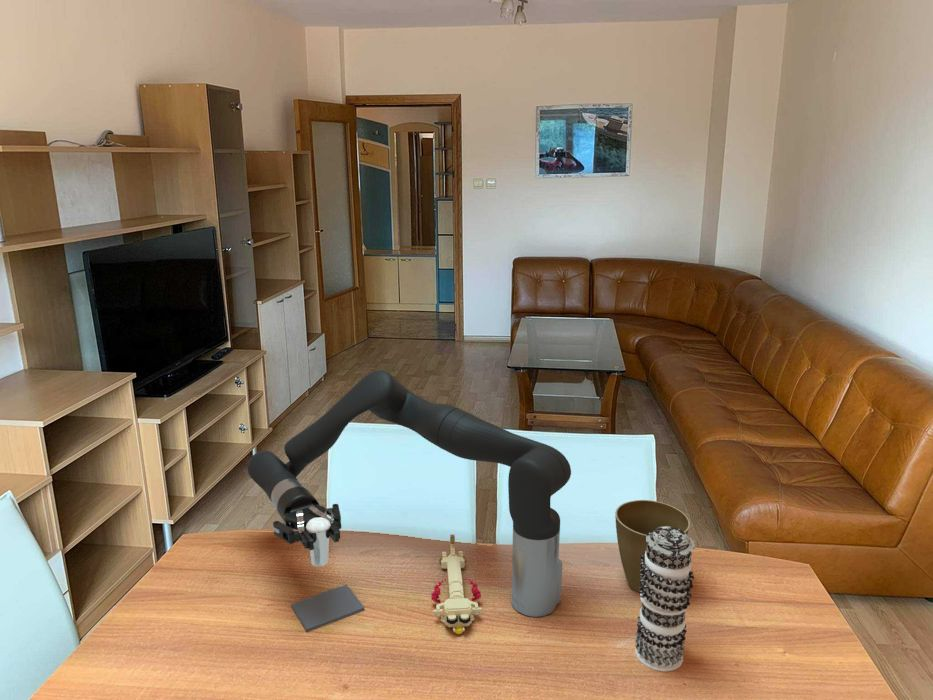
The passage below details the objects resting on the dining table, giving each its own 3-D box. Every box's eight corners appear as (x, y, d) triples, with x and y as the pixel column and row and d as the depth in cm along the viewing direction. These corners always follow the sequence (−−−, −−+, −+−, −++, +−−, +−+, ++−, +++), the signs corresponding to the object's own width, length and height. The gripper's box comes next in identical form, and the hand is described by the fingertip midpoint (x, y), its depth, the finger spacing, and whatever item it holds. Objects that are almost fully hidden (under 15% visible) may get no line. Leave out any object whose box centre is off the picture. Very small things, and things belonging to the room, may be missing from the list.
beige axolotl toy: (430, 568, 152) (432, 637, 127) (429, 532, 150) (431, 594, 126) (474, 566, 152) (485, 634, 128) (474, 530, 151) (485, 592, 126)
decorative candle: (628, 636, 128) (637, 519, 121) (677, 637, 128) (689, 520, 121) (638, 672, 120) (649, 548, 113) (691, 673, 119) (705, 549, 112)
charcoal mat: (346, 586, 143) (346, 584, 143) (364, 610, 136) (364, 607, 136) (291, 606, 137) (291, 603, 137) (306, 632, 130) (306, 629, 129)
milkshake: (332, 569, 129) (331, 523, 127) (305, 568, 129) (303, 522, 127) (337, 555, 134) (336, 510, 131) (310, 554, 134) (308, 509, 131)
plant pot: (646, 615, 134) (652, 544, 130) (596, 576, 147) (600, 510, 142) (698, 591, 142) (706, 523, 137) (646, 556, 154) (652, 493, 149)
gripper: (258, 495, 137) (286, 535, 123) (325, 477, 144) (358, 513, 130) (261, 528, 139) (289, 571, 125) (327, 509, 146) (360, 547, 132)
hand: (324, 541), depth 128 cm, fingers closed on milkshake, 4 cm apart
